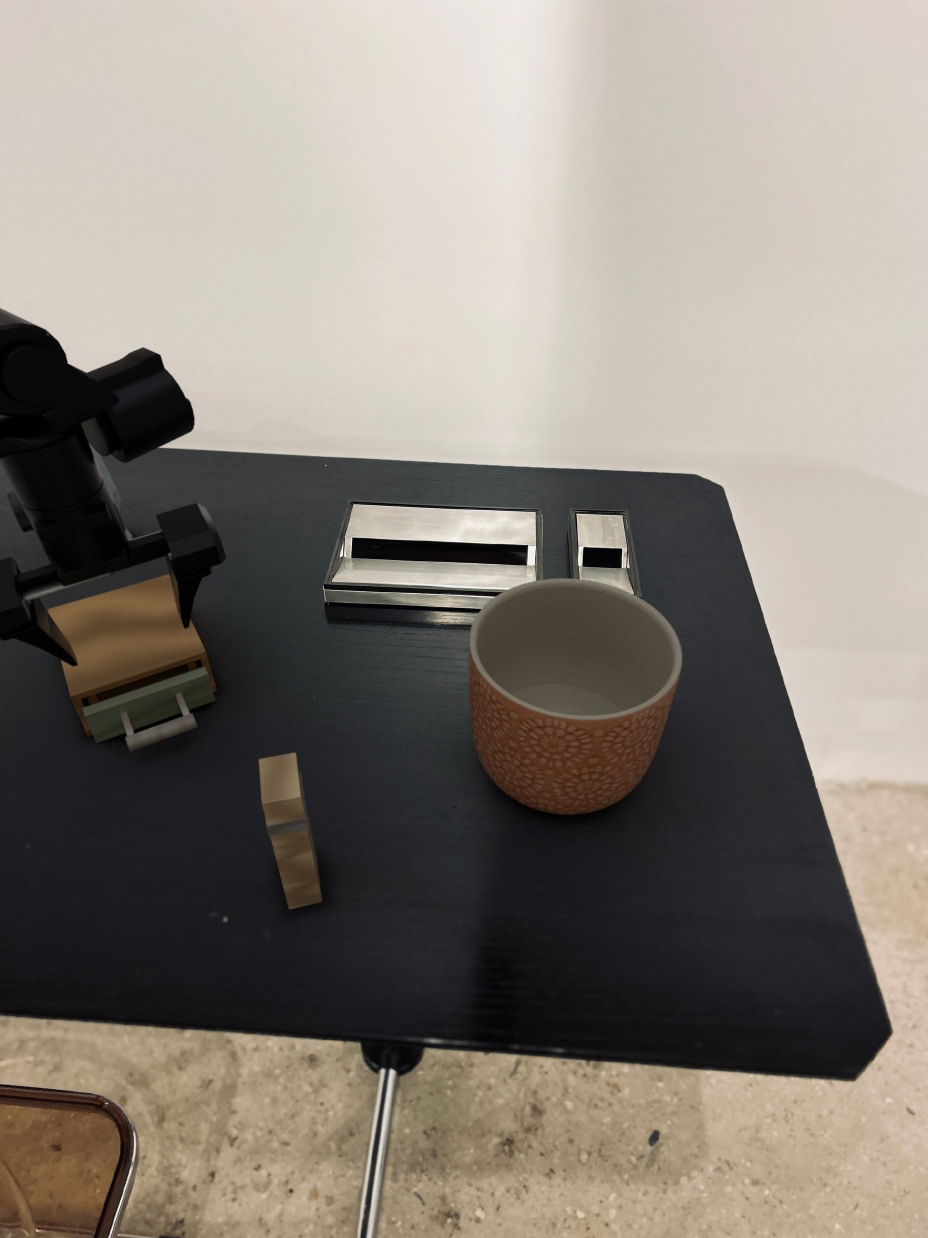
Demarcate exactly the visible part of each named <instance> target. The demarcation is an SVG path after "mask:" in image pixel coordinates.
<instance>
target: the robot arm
mask: <svg viewBox="0 0 928 1238" xmlns="http://www.w3.org/2000/svg"><path fill="white" fill-rule="evenodd" d="M195 418H196V417H195V413H194V408H193V405H192V402H191V400H190V399H189V398H187V397H186V395H185V393H184V391H183V389H182V387H181V386H180V384H179V382H177V380H176V379H175V377H174V376H173V375H172V374H171V373H170V372H169V371H168V370H167V368H165V365H164V362H163V358H162V355H161V354H160V353H157V352H155V351H154V350H151V349H149V348H146V347H144V346H143V347H140V348H138V349H135V350H132V351H131V352H129V353H127V354H126V355H125V356H123V357H121V358H119V359H118V360H115V361H112V362H110V363H107V364H105V365H102V366H100V367H97V368H95V369H92V370H90V371H87V372H86V371H84V370H83V369H80V368H78V367H77V366H74V365H72V364H70V363H69V361H68V357H67V354H66V351H65V350H64V348H63V347H62V345H61V342H60V340H58V339H57V338H56V337H55V336H53V334H51V333H50V332H49V331H48V330H47V329H46V328H43V327H41V326H40V325H37V324H36V323H33V322H31V321H29V320H26V319H24V318H22V317H20V316H18V315H17V314H14V313H13V312H10V311H8V310H6V309H4V308H2V307H0V466H1V467H2V470H3V471H4V474H5V475H6V478H7V480H8V482H9V483H10V486H11V487H12V489H13V490H9V491H7V493H6V496H7V499H8V502H9V505H10V507H11V509H12V512H13V515H14V517H15V519H16V522H17V524H18V526H19V528H20V530H21V532H23V533H28V532H32V531H33V532H34V533H35V535H36V537H37V539H38V541H39V543H40V545H41V547H42V550H43V552H44V553H45V556H46V557H47V559H48V561H49V563H50V564H47V565H44V566H41V567H37V568H34V569H30V570H27V571H24V572H22V571H21V569H20V566H19V564H18V563H17V561H16V559H14V558H13V557H12V556H9V557H4V558H2V559H0V641H3V642H5V641H6V642H7V641H9V640H17V641H20V642H23V643H25V644H27V645H30V646H33V647H35V648H38V649H40V650H42V651H45V652H46V653H48V654H50V655H52V656H53V657H55V658H56V659H58V660H60V661H61V660H62V661H64V662H66V663H67V664H69V665H71V666H73V667H74V666H77V665H78V661H77V658H76V655H75V653H74V651H73V649H72V647H71V645H70V643H69V642H68V640H67V639H66V637H65V636H64V635H63V633H62V632H61V630H60V629H59V627H58V626H57V625H56V623H55V622H54V620H53V619H52V617H51V616H50V615H49V613H48V609H46V607H45V606H44V604H43V602H42V600H41V598H42V597H44V596H48V595H51V594H55V593H58V592H61V591H64V590H67V589H71V588H74V587H77V586H81V585H84V584H88V583H91V582H94V581H97V580H99V579H104V578H106V577H109V576H112V575H113V574H114V573H115V572H119V571H122V570H125V569H129V568H131V567H135V566H138V565H142V564H145V563H148V562H151V561H154V560H157V559H162V558H165V561H166V565H167V569H168V574H169V575H170V579H171V584H172V588H173V593H174V598H175V603H176V607H177V611H178V613H179V616H180V619H181V621H182V624H183V627H184V629H186V628H189V625H190V619H191V620H192V612H193V608H194V607H193V606H194V603H195V598H196V595H197V593H198V590H199V587H200V584H201V583H202V580H203V578H206V577H209V576H211V574H213V567H216V566H219V565H222V563H223V562H224V561H225V560H226V559H227V555H226V551H225V549H224V545H223V542H222V540H221V537H220V533H219V532H218V529H217V527H216V526H215V524H214V521H213V520H212V517H211V516H210V513H209V511H208V509H207V508H206V507H205V506H203V505H201V504H199V503H198V502H194V503H191V504H188V505H185V506H180V507H178V508H174V509H170V510H167V511H163V512H161V513H156V514H155V517H156V520H157V523H158V526H159V530H158V531H155V532H152V533H148V534H144V535H140V536H138V537H134V538H133V539H131V540H128V539H127V536H126V534H125V531H126V530H125V528H126V527H125V524H124V521H123V519H122V516H121V515H120V514H119V511H118V509H117V506H116V504H115V502H114V500H113V499H112V497H111V496H110V494H109V492H108V489H107V487H106V484H105V482H104V479H103V477H102V474H101V472H100V469H99V467H98V464H97V462H96V460H95V457H94V455H93V452H92V450H91V447H90V445H91V446H92V447H93V449H94V450H95V451H96V452H97V453H99V455H100V456H101V457H104V458H105V457H108V456H110V455H111V456H112V457H113V458H114V459H116V461H119V462H121V463H124V464H127V463H129V462H132V461H133V460H136V459H138V458H140V457H142V456H145V455H146V454H148V453H150V452H152V451H154V450H157V449H159V448H161V447H163V446H165V445H167V444H169V443H171V442H174V441H175V440H178V439H179V438H181V437H183V436H186V435H188V434H189V433H192V432H193V430H194V429H195V423H196V422H195V421H196V420H195ZM89 444H90V445H89Z"/></svg>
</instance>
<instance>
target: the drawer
mask: <svg viewBox="0 0 928 1238" xmlns="http://www.w3.org/2000/svg"><path fill="white" fill-rule="evenodd" d="M87 699H88V701H89V704H90V706H87V707H84V708H82V709H83V713H84V716H85V719H86V721H87V723H88V725H89V728H90V730H91V732H92V734H93V735H92V737H93V738H94V741H95V743H96V744H98V743H101V742H103V741H107V740H109V739H111V738H115V737H118V736H122V735H123V734H125V733H126V736H125V742H126V746H127V748H128V750H129V752H130V753H132V752H135V751H137V750H139V749H143V748H145V747H148V746H150V745H153V744H156V743H159V742H161V741H164V740H167V739H170V738H172V737H175V736H177V735H180V734H181V735H182V734H183V733H187V732H189V731H192V730H194V729H197V728H198V724H197V720H196V718H195V716H194V713H193V712H190V711H191V710H193V709H196V708H199V707H201V706H205V705H207V704H211V703H213V702H215V701H216V697H215V694H214V692H213V690H212V686H211V683H210V679H209V676H208V673H207V671H206V669H205V667H202V668H199V669H197V666H196V663H195V661H193V662H190V663H187V664H184V665H181V666H178V667H175V668H172V669H169V670H166V671H163V672H160V673H157V674H154V675H151V676H148V677H145V678H142V679H139V680H136V681H133V682H130V683H127V684H124V685H121V686H118V687H115V688H112V689H109V690H106V691H103V692H100V693H97V694H94V695H91V696H88V697H87ZM179 714H182V716H179V717H177V718H174V719H172V720H169V721H166V722H164V723H161V724H158V725H155V726H152V727H149V728H146V729H144V730H142V731H138V732H136V733H135V731H134V730H138V729H140V728H143V727H146V726H148V725H151V724H154V723H158V722H160V721H163V720H165V719H168V718H171V717H173V716H176V715H179Z"/></svg>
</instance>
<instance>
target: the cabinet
mask: <svg viewBox="0 0 928 1238" xmlns="http://www.w3.org/2000/svg"><path fill="white" fill-rule="evenodd" d="M47 612H48V613H49V615H50V616H51V617H52V619H53V620H54V622H55V623H56V625H57V626H58V627H59V629H60V630H61V632H62V633H63V635H64V636H65V637H66V639H67V640H68V642H69V643H70V645H71V647H72V649H73V651H74V653H75V655H76V658H77V661H78V665H77V666H74V667H73V666H71V665H69V664H67V663H66V662H64V661H62V660H60V662H61V666H62V670H63V673H64V678H65V682H66V685H67V689H68V693H69V697H70V699H71V701H72V704H73V706H74V708H75V710H76V712H77V714H78V717H79V719H80V721H81V723H82V726H83V728H84V731H85V732H86V734H87V736H88V737H90V736H93V734H92V732H91V730H90V728H89V725H88V723H87V721H86V719H85V716H84V713H83V709H82V708H84V707H87V706H90V704H89V701H88V699H87V697H88V696H91V695H94V694H97V693H100V692H103V691H106V690H109V689H112V688H115V687H118V686H121V685H124V684H127V683H130V682H133V681H136V680H139V679H142V678H145V677H148V676H151V675H154V674H157V673H160V672H163V671H166V670H169V669H172V668H175V667H178V666H181V665H184V664H187V663H190V662H193V661H195V663H196V666H197V669H199V668H202V667H205V669H206V671H207V673H208V676H209V679H210V683H211V686H212V690H213V693H215V692H217V691H218V690H217V685H216V683H215V679H214V676H213V672H212V668H211V665H210V661H209V658H208V654H207V651H206V649H205V646H204V644H203V642H202V640H201V638H200V636H199V633H198V631H197V629H196V627H195V625H194V623H193V621H192V618H191V619H190V625H189V628H186V629H184V627H183V624H182V621H181V619H180V616H179V613H178V611H177V607H176V603H175V598H174V593H173V588H172V584H171V579H170V574H169V573H168V574H165V575H162V576H157V577H154V578H151V579H148V580H144V581H141V582H138V583H134V584H129V585H127V586H123V587H120V588H116V589H112V590H110V591H106V592H103V593H99V594H96V595H92V596H88V597H85V598H82V599H79V600H75V601H72V602H67V603H65V604H61V605H57V606H54V607H50V608H47Z"/></svg>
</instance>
